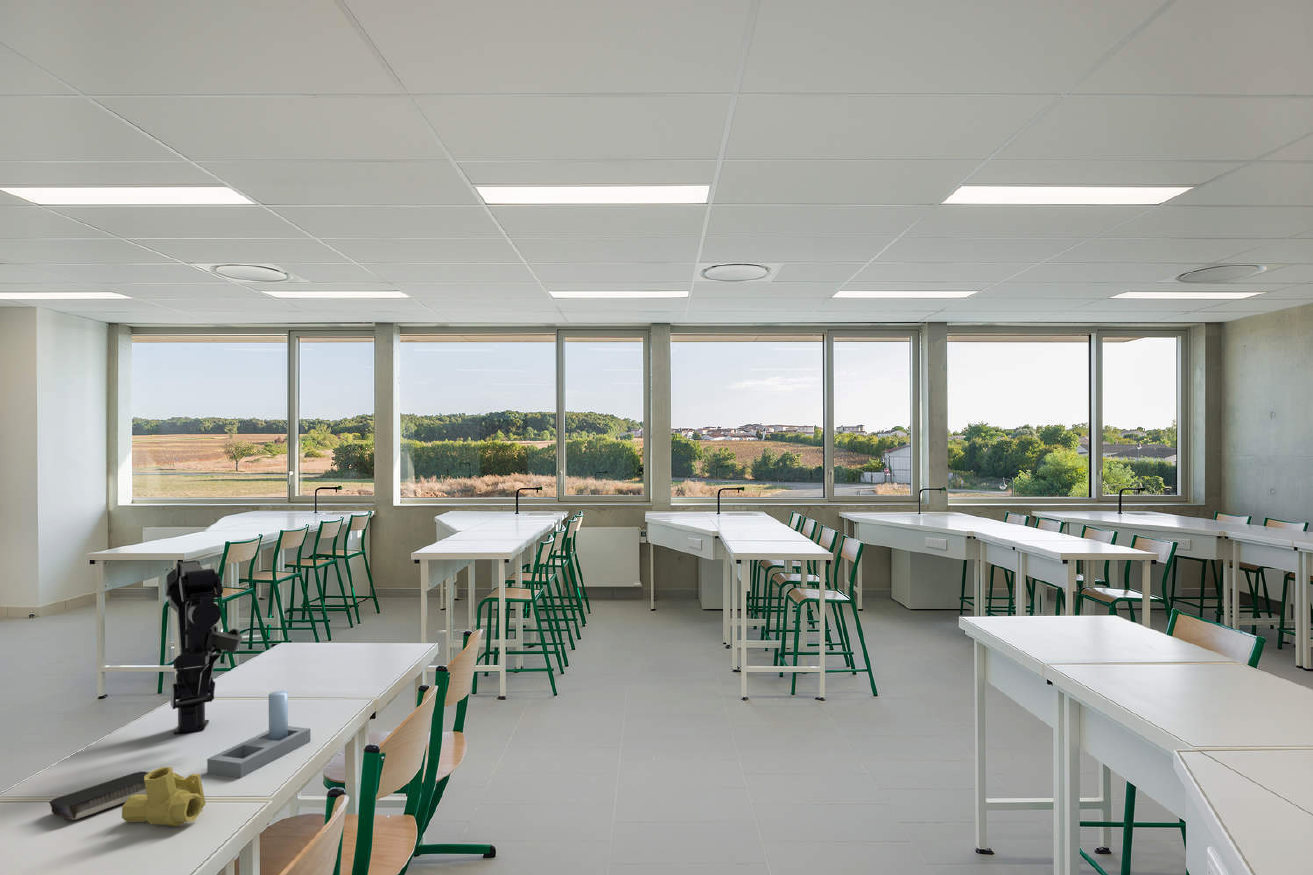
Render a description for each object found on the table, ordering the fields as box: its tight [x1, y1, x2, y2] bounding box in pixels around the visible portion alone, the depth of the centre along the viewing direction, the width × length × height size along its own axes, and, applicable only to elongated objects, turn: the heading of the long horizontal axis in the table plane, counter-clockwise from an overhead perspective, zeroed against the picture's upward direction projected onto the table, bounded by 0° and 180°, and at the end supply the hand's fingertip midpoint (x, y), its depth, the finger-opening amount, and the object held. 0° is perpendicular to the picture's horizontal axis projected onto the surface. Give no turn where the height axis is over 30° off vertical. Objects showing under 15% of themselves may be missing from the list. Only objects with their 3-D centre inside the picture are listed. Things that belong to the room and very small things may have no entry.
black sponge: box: [48, 771, 151, 821], centre depth 146 cm, size 16×8×4 cm, turn 147°
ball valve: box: [121, 766, 206, 827], centre depth 140 cm, size 13×10×10 cm
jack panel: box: [206, 725, 311, 779], centre depth 167 cm, size 20×9×3 cm, turn 163°
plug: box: [268, 690, 289, 741], centre depth 172 cm, size 4×4×12 cm
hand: (201, 691), depth 173 cm, fingers open, 9 cm apart
